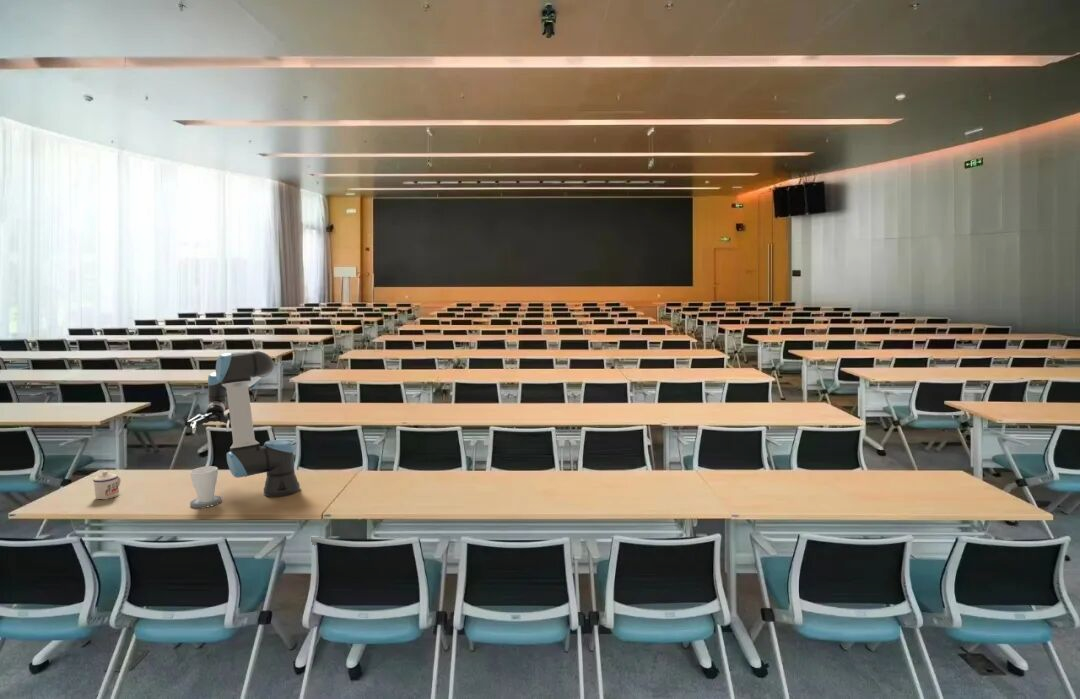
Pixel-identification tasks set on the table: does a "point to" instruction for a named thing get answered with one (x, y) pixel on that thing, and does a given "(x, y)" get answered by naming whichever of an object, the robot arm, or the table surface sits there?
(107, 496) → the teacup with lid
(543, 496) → the table surface
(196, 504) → the plate
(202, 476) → the cup
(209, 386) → the robot arm
